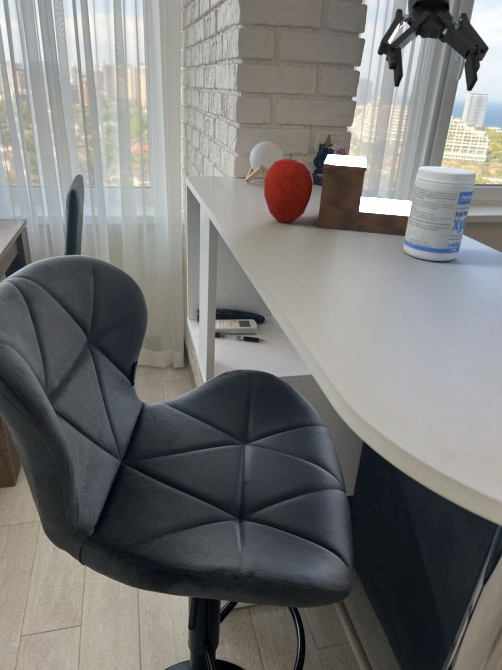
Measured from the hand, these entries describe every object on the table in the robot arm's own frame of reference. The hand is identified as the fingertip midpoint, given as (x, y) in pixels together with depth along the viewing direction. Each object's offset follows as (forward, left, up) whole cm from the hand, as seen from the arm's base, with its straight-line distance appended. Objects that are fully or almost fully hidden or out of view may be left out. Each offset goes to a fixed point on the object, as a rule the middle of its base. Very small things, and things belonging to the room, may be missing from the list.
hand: (435, 83), depth 92 cm
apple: (+25, 0, -28) cm, 38 cm away
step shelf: (+8, -5, -28) cm, 29 cm away
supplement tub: (-3, +15, -28) cm, 32 cm away
